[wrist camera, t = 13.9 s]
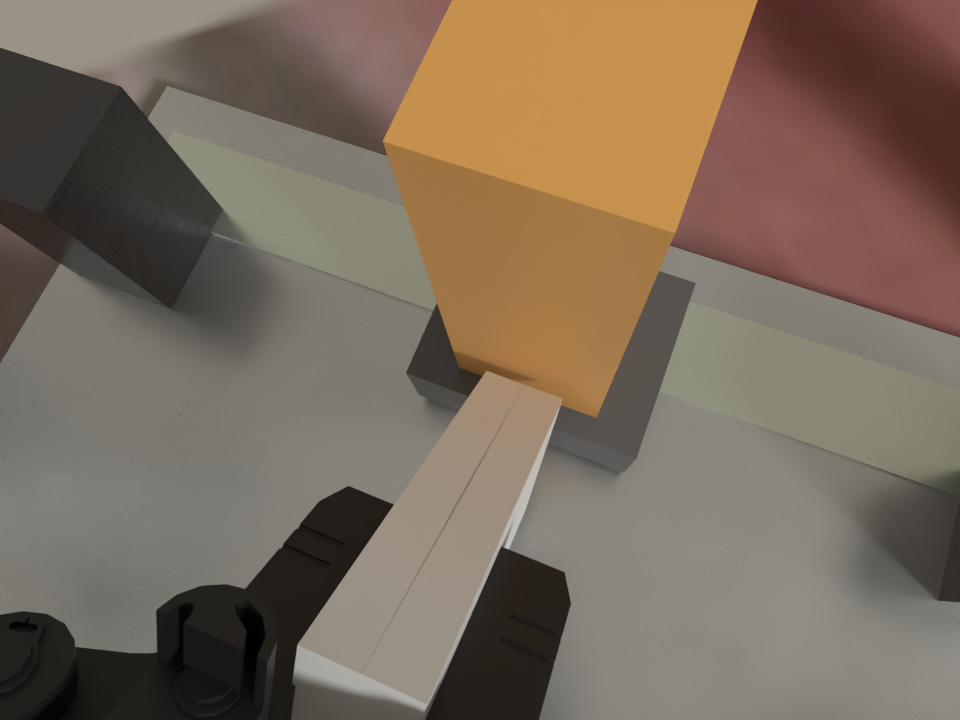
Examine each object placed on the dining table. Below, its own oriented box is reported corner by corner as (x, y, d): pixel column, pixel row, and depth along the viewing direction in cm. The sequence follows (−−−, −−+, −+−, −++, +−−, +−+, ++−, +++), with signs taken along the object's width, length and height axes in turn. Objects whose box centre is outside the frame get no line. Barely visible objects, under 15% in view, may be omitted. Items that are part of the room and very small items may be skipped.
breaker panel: (-159, 718, 17) (-552, 800, 11) (191, 118, 22) (54, -67, 15) (955, 1326, 13) (1361, 2041, 6) (1103, 414, 17) (1428, 323, 11)
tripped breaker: (419, 395, 16) (272, 153, 7) (482, 249, 17) (426, -133, 8) (623, 472, 16) (768, 317, 6) (677, 314, 17) (872, -27, 7)
